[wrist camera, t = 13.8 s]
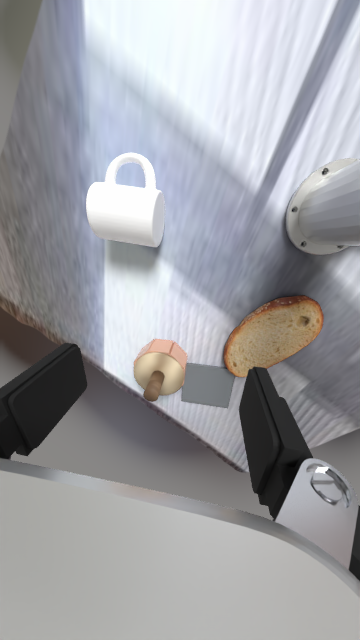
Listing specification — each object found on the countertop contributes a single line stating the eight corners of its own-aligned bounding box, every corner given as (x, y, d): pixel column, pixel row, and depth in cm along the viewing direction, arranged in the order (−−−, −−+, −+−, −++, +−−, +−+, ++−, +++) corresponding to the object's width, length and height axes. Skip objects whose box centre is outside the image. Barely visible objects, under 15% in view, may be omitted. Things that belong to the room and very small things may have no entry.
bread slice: (223, 373, 43) (224, 384, 39) (223, 298, 36) (224, 303, 33) (307, 374, 40) (317, 386, 36) (323, 293, 33) (337, 298, 30)
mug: (162, 246, 34) (150, 248, 27) (112, 238, 35) (87, 238, 28) (170, 167, 29) (157, 143, 22) (111, 160, 30) (80, 134, 23)
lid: (185, 355, 37) (181, 376, 31) (182, 395, 42) (178, 421, 36) (133, 348, 38) (120, 368, 32) (136, 388, 43) (124, 412, 37)
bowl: (188, 342, 42) (185, 355, 37) (185, 380, 46) (182, 396, 42) (141, 337, 43) (132, 348, 38) (142, 375, 47) (135, 389, 43)
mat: (235, 368, 43) (235, 370, 42) (227, 406, 47) (227, 408, 47) (184, 362, 44) (184, 363, 43) (181, 399, 49) (181, 401, 48)
